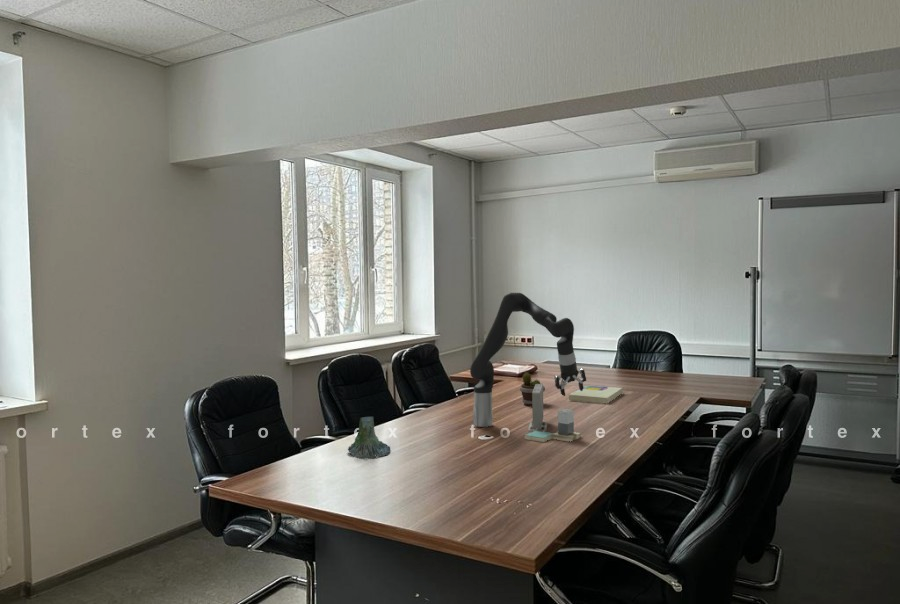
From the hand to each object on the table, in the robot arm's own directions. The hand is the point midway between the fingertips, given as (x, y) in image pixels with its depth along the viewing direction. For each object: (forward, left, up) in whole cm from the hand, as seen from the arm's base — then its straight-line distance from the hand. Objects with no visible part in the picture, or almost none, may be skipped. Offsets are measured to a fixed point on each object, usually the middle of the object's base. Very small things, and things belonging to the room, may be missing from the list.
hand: (572, 392), depth 294 cm
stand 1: (-14, +7, -22) cm, 27 cm away
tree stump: (-94, +7, -22) cm, 97 cm away
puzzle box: (+55, +90, -23) cm, 108 cm away
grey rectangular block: (-2, +4, -20) cm, 20 cm away
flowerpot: (+10, +82, -22) cm, 86 cm away
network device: (-7, +28, -22) cm, 36 cm away
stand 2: (-2, +4, -22) cm, 22 cm away
